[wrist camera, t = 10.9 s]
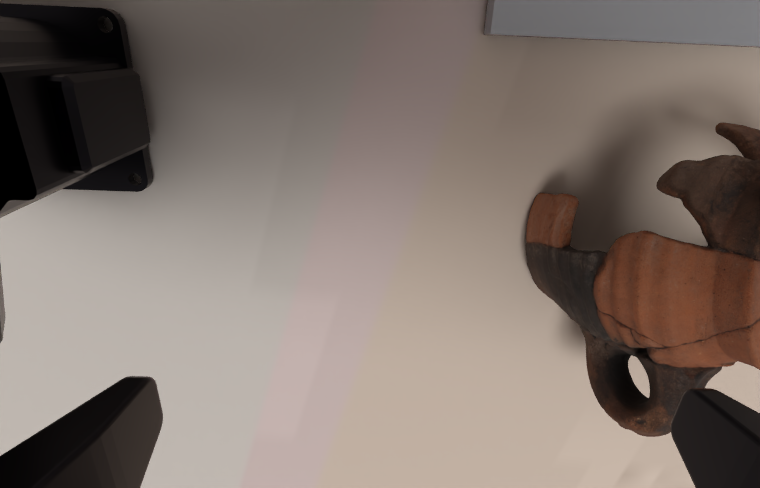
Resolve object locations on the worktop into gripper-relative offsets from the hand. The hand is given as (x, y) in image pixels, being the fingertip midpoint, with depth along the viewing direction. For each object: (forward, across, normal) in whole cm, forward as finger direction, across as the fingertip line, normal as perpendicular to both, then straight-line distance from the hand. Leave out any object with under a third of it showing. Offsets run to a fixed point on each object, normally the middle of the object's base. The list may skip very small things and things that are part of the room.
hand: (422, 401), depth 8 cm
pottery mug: (+12, -11, +2) cm, 16 cm away
